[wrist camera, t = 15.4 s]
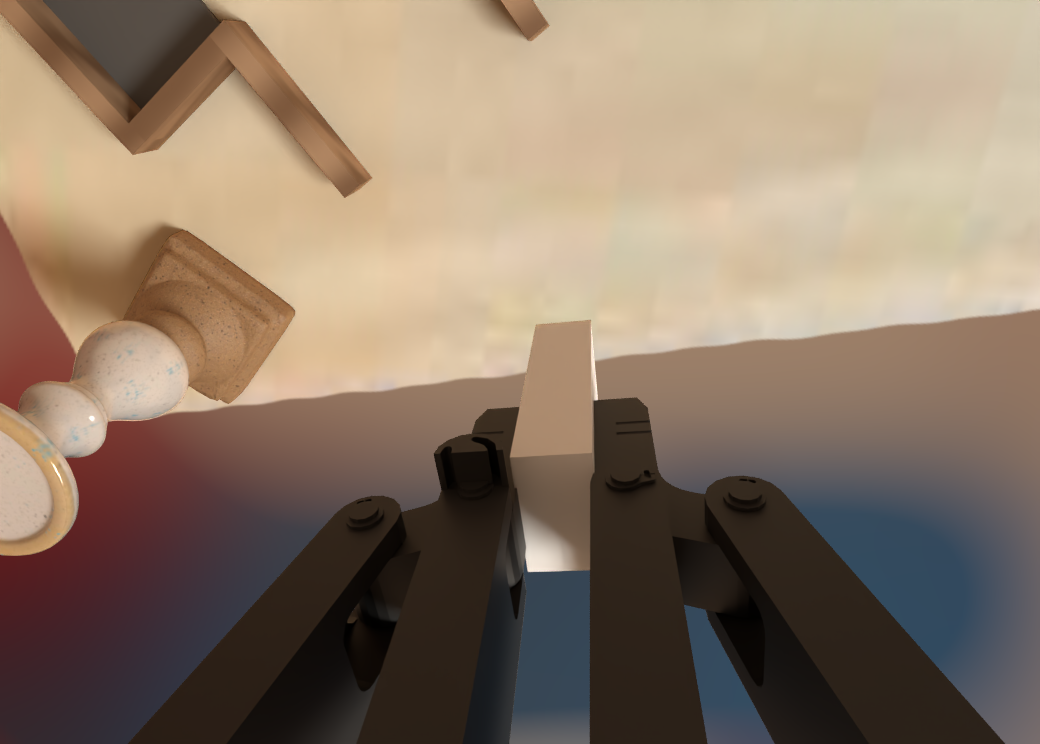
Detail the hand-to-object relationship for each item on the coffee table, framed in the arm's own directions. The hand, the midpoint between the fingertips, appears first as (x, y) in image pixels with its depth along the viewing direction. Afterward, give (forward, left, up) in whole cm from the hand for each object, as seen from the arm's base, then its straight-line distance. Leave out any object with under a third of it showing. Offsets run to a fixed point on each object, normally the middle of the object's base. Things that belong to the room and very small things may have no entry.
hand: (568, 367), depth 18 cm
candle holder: (+32, +8, -33) cm, 46 cm away
